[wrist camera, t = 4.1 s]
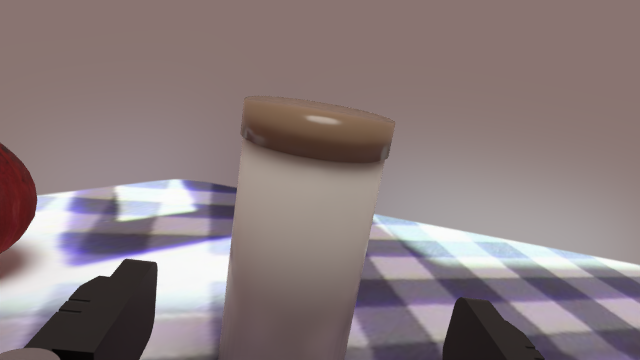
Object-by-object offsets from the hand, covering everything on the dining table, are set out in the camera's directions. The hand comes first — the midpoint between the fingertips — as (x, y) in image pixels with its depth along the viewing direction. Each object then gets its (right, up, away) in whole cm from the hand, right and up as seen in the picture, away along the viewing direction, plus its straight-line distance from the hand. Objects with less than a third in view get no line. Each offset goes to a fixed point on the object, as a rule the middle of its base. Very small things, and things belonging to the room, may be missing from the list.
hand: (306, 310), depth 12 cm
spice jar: (-1, -5, +7) cm, 9 cm away
